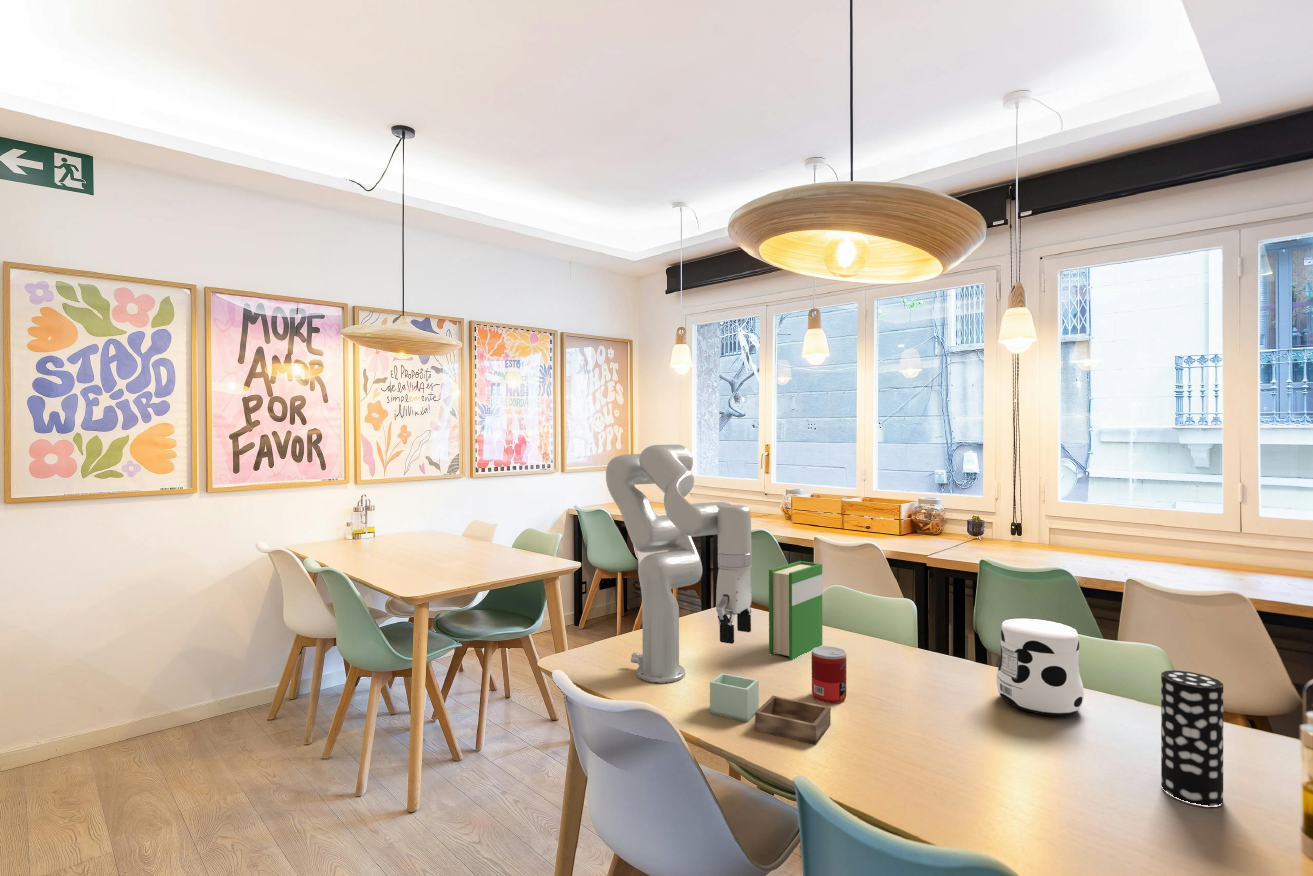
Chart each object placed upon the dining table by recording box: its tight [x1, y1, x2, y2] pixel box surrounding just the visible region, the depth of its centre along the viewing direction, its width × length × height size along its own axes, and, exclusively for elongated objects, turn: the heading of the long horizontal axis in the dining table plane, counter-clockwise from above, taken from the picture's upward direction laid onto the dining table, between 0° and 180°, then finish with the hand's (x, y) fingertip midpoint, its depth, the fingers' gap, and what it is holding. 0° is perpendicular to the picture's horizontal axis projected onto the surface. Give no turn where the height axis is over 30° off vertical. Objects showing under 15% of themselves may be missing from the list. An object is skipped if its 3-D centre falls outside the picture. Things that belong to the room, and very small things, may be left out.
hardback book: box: [768, 560, 823, 661], centre depth 192 cm, size 18×7×24 cm, turn 139°
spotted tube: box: [1160, 669, 1224, 806], centre depth 114 cm, size 8×8×20 cm
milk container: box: [995, 618, 1085, 716], centre depth 152 cm, size 17×17×18 cm
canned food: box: [811, 645, 847, 704], centre depth 157 cm, size 8×8×11 cm
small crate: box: [709, 672, 760, 723], centre depth 149 cm, size 9×6×7 cm
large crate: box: [754, 695, 832, 746], centre depth 141 cm, size 13×10×4 cm
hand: (735, 636), depth 149 cm, fingers open, 9 cm apart
